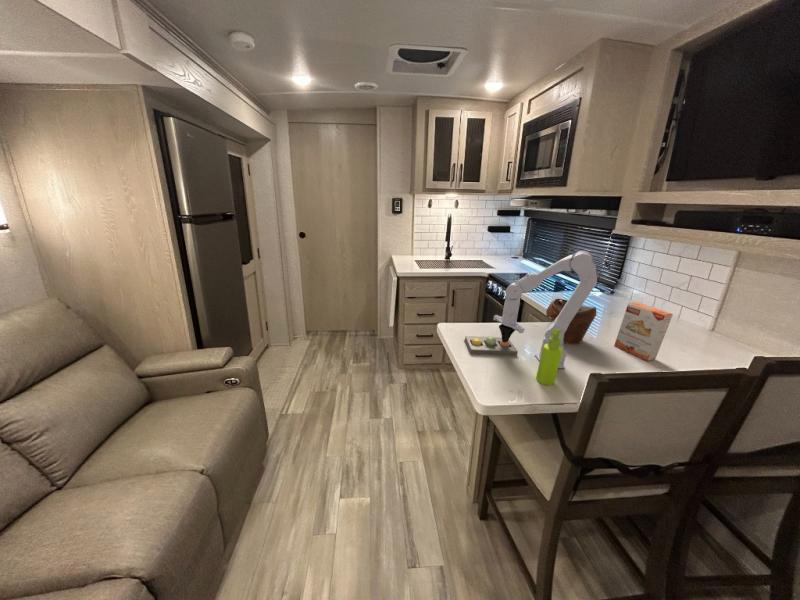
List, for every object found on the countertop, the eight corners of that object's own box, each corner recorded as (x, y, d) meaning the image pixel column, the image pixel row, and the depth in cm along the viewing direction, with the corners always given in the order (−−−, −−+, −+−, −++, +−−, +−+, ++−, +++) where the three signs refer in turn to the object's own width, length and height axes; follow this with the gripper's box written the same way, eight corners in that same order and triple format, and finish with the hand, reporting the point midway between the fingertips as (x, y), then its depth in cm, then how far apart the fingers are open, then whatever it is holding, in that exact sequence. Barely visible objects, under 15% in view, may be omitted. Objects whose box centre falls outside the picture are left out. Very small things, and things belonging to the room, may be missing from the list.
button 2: (510, 350, 127) (511, 343, 126) (500, 349, 127) (501, 343, 126) (506, 345, 130) (508, 339, 129) (497, 345, 130) (498, 339, 129)
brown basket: (539, 325, 152) (547, 292, 146) (584, 333, 146) (594, 299, 140) (543, 341, 137) (552, 305, 130) (592, 351, 131) (604, 313, 124)
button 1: (481, 349, 126) (482, 342, 125) (472, 348, 126) (473, 342, 125) (479, 344, 130) (480, 338, 129) (470, 344, 130) (471, 337, 129)
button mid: (496, 346, 126) (497, 340, 125) (486, 346, 126) (487, 340, 125) (493, 342, 130) (494, 336, 129) (484, 341, 130) (485, 335, 129)
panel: (517, 355, 123) (517, 351, 122) (470, 353, 123) (471, 349, 122) (507, 341, 134) (508, 337, 134) (464, 340, 134) (465, 335, 133)
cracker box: (613, 346, 135) (627, 302, 128) (621, 344, 138) (636, 301, 130) (647, 362, 123) (664, 314, 116) (656, 359, 125) (673, 313, 118)
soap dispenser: (532, 380, 107) (543, 329, 100) (539, 373, 111) (551, 324, 104) (549, 388, 103) (562, 336, 96) (556, 380, 107) (569, 330, 101)
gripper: (532, 316, 119) (525, 347, 123) (503, 304, 131) (498, 332, 135) (519, 319, 115) (513, 350, 120) (492, 306, 127) (487, 335, 132)
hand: (504, 341), depth 127 cm, fingers closed, pressing on button 2
